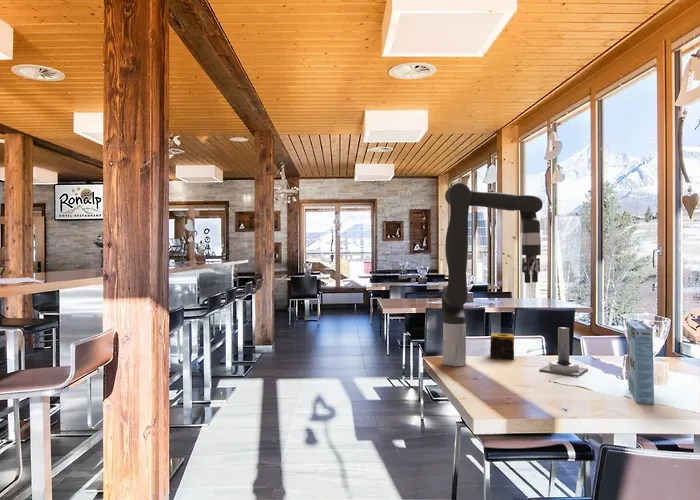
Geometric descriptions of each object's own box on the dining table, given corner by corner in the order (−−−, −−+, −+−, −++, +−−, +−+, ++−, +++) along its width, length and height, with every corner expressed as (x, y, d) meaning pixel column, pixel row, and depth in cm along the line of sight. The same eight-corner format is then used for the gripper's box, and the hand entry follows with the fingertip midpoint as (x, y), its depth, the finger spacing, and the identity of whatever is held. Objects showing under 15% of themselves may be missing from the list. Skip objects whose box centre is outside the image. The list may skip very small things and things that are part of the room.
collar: (577, 377, 175) (577, 369, 175) (539, 371, 184) (539, 363, 184) (588, 370, 186) (587, 362, 186) (551, 365, 195) (551, 357, 195)
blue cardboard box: (654, 405, 142) (653, 329, 142) (634, 403, 144) (634, 328, 144) (644, 389, 159) (643, 321, 160) (626, 387, 161) (626, 320, 162)
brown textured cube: (490, 358, 207) (489, 336, 208) (490, 354, 217) (490, 332, 217) (514, 360, 204) (514, 337, 205) (513, 355, 214) (513, 333, 214)
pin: (567, 370, 182) (567, 329, 182) (556, 368, 185) (556, 328, 185) (570, 368, 185) (570, 328, 185) (559, 367, 188) (559, 327, 188)
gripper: (534, 243, 190) (534, 283, 190) (546, 244, 201) (546, 282, 201) (515, 243, 195) (515, 282, 195) (528, 244, 206) (528, 281, 206)
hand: (531, 282), depth 198 cm, fingers open, 8 cm apart
